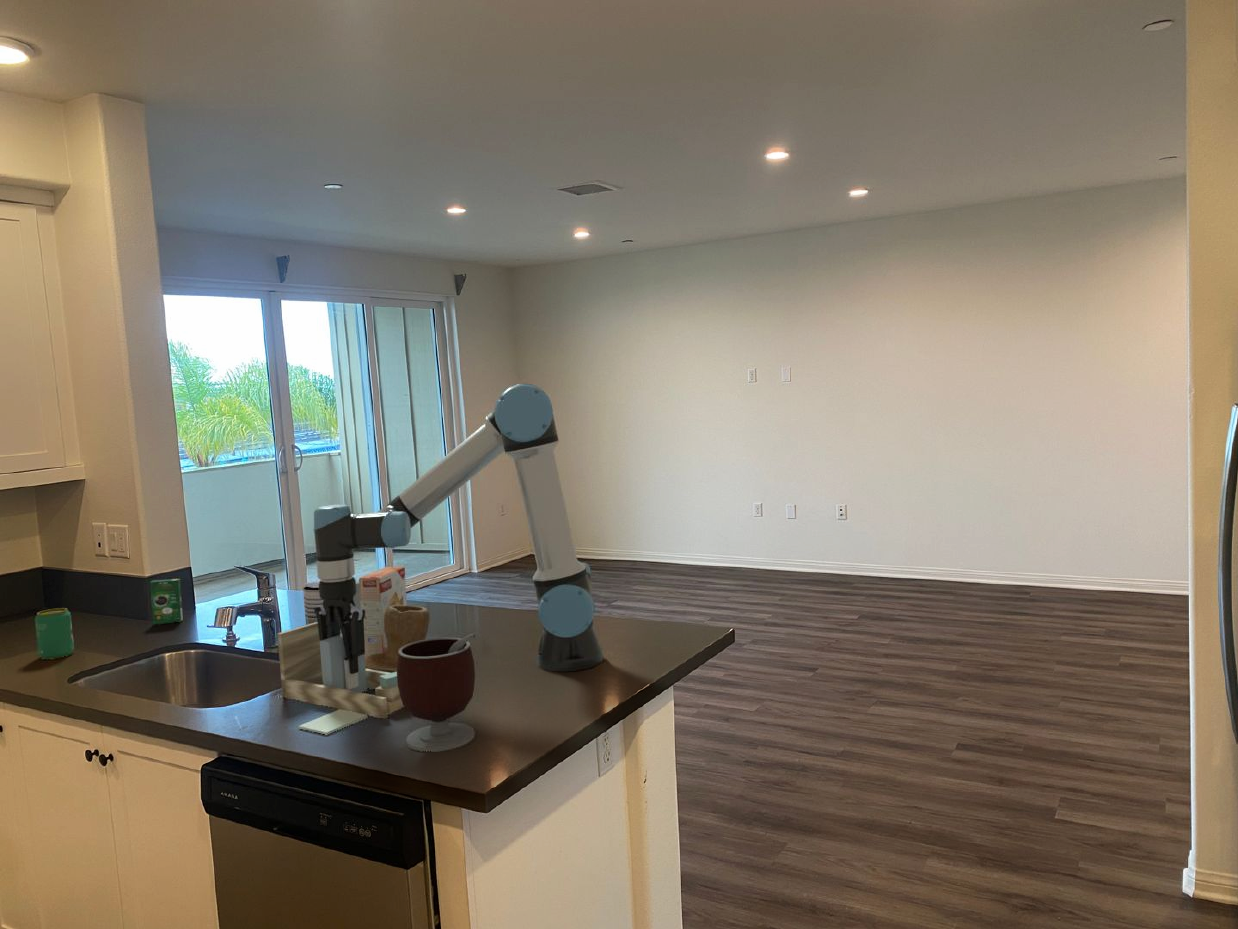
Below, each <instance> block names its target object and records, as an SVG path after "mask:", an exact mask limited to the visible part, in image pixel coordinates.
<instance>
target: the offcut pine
mask: <svg viewBox="0 0 1238 929" xmlns="http://www.w3.org/2000/svg"><path fill="white" fill-rule="evenodd" d="M374 691H375V694H374V695H376V696H381V697H386V701H387V702H394V701H396V700H397V699H399V698H401V697H400V693H399V689H398V686H395V687H391V688H384V687H382V686H379V687H377V688H375V690H374Z"/></svg>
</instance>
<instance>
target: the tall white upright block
mask: <svg viewBox="0 0 1238 929" xmlns="http://www.w3.org/2000/svg"><path fill="white" fill-rule="evenodd" d="M320 653H321V666H322V679H323V685H324V686H329V687H335V688H340V689H345V690H346V680H345V668H344V658H345V657H346V652H345V647H344V642H343V637H342V634H341V635H338V636H334V637H331V638H328V639H325V640H322V641H320ZM351 653H352V652H351ZM358 668H359V671H358V685H359V686H358V687H355V688H353V689H350V691H355V692H360V693H362V692H363V693H365V692H367V691H368V688H367V682H366V668H365V655H364V654H363V655H361V656H359V657H358ZM364 691H365V692H364Z"/></svg>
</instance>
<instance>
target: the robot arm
mask: <svg viewBox="0 0 1238 929" xmlns="http://www.w3.org/2000/svg"><path fill="white" fill-rule="evenodd" d="M553 411H554V410H553V404H552V401H551V399H550V397H549V396H548V395H547V393H546V392H545V391H544V390H543V389H542V388H540V387H539V386H537V385H534V384H532V383H518V384H515V385H512V386H509V387H508V388H506V389H505V390H504V391H502V393H501V394H500V396H499V397H498V399H497V401H496V403H495V407H494V409H493V411H491V412H490V413H489V414H488V415H487V416H485V421H484V424H483V425H481V426H480V427H479V428H478V429H476V430H475V431H474V432H473V433H472V434H471V435H469V436H468V437H467V438H466V439H464V441H462V442H461V443H459V444H458V445H457V446H456V447H454V448H453V450H451V451H450V452H449V453H448V454H446V455H445V456H444V457H443V458H441V459H440V460H439V461H438V462H436V463H435V464H434V465H433V466H432V467H431V468H429V469H428V470H427V471H426V472H425V473H423V474H422V475H421V476H420V477H418V478H417V479H416V480H415V481H413V483H411V484H410V485H409V486H407V488H406V489H404V490H403V491H402V492H401V493H399V495H397V496H395V497H394V498H393V499H392V500H391V501H389V502H388V503H387V504H386V505H385V506H384V507H382V508H381V509H379V510H378V511H376V512H368V513H366V512H365V513H352V511H351V507H350V506H349V505H348V504H329V505H322V506H319V507H317V508H316V509H315V510H314V512H313V533H314V543H315V552H316V554H315V555H316V569H317V571H316V573H317V578H318V580H319V596H320V598H321V599H324V601H323V605H321V606H318V607H315V608H314V611H315V614H316V617H317V622H318V631H319V640H320V641H322V640H325V639H328V638H331V637H334V636H338V635H340V628H341V632H342V637H343V642H344V647H345V652H346V657H345V658H344V668H345V680H346V690H350V689H353V688H355V687H358V686H359V685H358V671H359V668H358V657H359V656H361V655H363V654H365V640H364V617H365V610H364V609H362V610H359V609H357V608H356V606H355V603H354V600H353V597H354V595H355V594H356V580H357V579H356V578H355V577H354V576H355V574H356V573H355V572H356V571H355V569H356V568H355V556H354V555H355V554H354V550H362V549H366V550H367V549H384V548H385V549H387V548H390V549H394V548H399V547H406V546H408V544H409V543H410V541H411V536H412V532H411V531H412V528H413V527H414V526H416V525H417V524H418V523H419V522H420V521H421V520H423V518H425V517H427V516H428V515H429V514H430V513H431V512H433V511H434V510H435V509H436V508H437V507H438V506H439V505H440V504H442V503H443V502H444V501H445V500H447V499H448V498H450V496H453V494H454V493H455V492H457V491H458V490H459V489H460V488H462V487H463V486H464V485H466V484H467V483H468V482H469V481H470V480H472V478H474V477H475V476H476V475H477V474H479V473H480V472H481V471H482V470H483V469H485V468H486V467H487V466H488V465H489V464H491V463H492V462H493V461H495V460H496V459H497V458H498V457H499V456H501V455H502V454H503V453H504V454H506V455H507V456H509V457H510V458H511V459H512V460H513V462H514V466H515V471H516V475H517V479H518V480H517V481H518V485H519V489H520V494H521V498H522V502H523V503H522V504H523V507H524V511H525V512H524V513H525V515H526V517H525V518H526V520H527V527H528V530H529V534H530V538H531V544H532V548H533V553H534V558H535V563H536V567H537V569H536V571H535V573H534V575H533V576H532V581H533V585H534V591H535V597H536V600H537V604H538V606H537V615H538V616H537V617H538V619H539V622H540V623H541V625H542V633H541V637H540V641H539V646H538V648H537V649H538V650H537V653H536V654H537V655H536V660H537V666H538V667H539V668H541V669H543V670H546V671H552V672H574V671H575V672H576V671H581V670H582V671H583V670H585V669H587V670H588V669H590V668H594V667H596V666H598V665H600V664H601V663H602V662H603V660H604V659H603V658H604V656H603V655H604V654H603V648H602V647H601V644H600V642H599V639H598V636H597V632H596V630H595V628H594V616H595V612H596V605H595V602H594V598H593V592H592V591H593V590H592V581H591V579H592V573H591V567H590V565H589V564H588V563H587V562H581V561H579V560H578V559H577V553H576V550H575V545H574V540H573V534H572V531H571V526H570V521H569V517H568V512H567V507H566V504H565V498H564V493H563V488H562V483H561V480H560V475H559V470H558V466H557V461H556V457H555V456H556V455H555V449H556V447H557V445H558V444H559V443H560V441H559V436H558V432H557V426H556V422H555V417H554V412H553ZM347 621H348V622H347ZM344 622H346V623H344ZM351 652H352V653H351ZM600 662H601V663H600ZM599 663H600V664H599Z"/></svg>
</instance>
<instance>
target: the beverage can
mask: <svg viewBox="0 0 1238 929" xmlns="http://www.w3.org/2000/svg"><path fill="white" fill-rule="evenodd" d="M34 623H35V625H34V626H35V632H36V634H35V635H36V640H37V641H36V642H37V650H38V656H39V657H40V659H41V658H44V659H50V658H57V657H62V656H66V657H69V656H71V655H73V652H74V650H75V646H74V645H75V644H74V635H73V634H74V633H73V626H72V615H71V612H70V611H69V610H68V608H67V607H60V608H59V607H57V608H50V609H46V610H41V611H39V612H37V613H36V616H35V618H34ZM70 654H71V655H70ZM68 655H69V656H68Z"/></svg>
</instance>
